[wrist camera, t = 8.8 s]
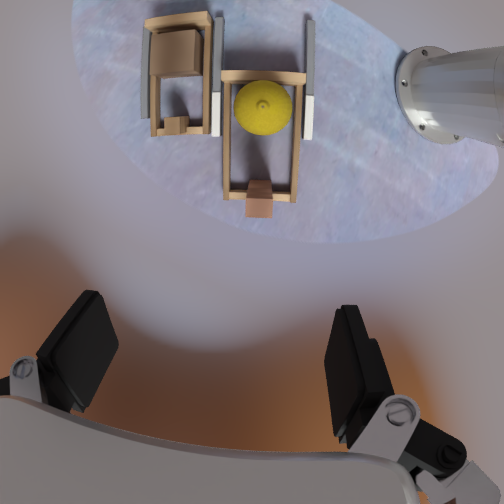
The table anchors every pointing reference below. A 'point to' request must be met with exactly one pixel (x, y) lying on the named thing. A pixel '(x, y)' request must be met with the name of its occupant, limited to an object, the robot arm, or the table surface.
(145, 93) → the rail right
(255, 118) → the lemon
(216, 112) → the lane rails
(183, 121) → the cube
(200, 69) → the walnut cube
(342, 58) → the table surface
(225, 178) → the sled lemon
